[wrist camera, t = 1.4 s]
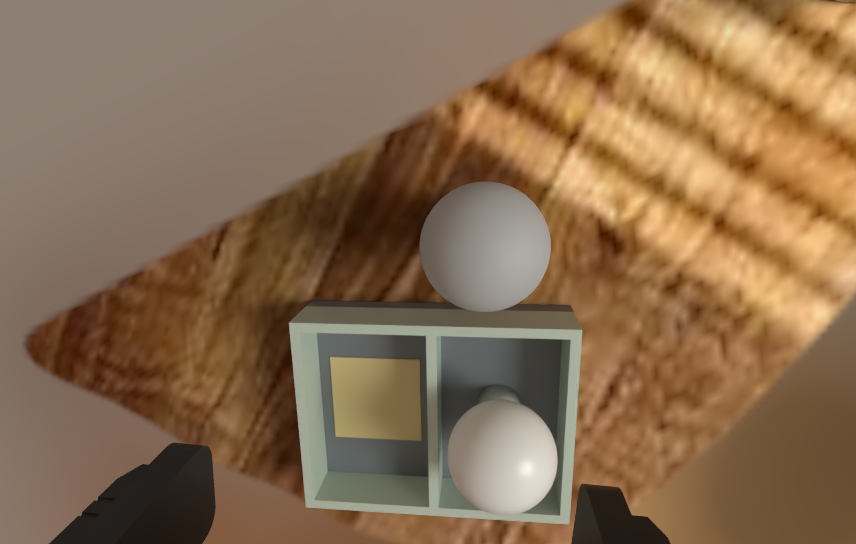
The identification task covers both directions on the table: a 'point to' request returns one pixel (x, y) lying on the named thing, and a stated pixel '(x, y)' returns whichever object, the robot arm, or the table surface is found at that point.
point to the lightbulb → (485, 246)
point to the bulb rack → (437, 408)
